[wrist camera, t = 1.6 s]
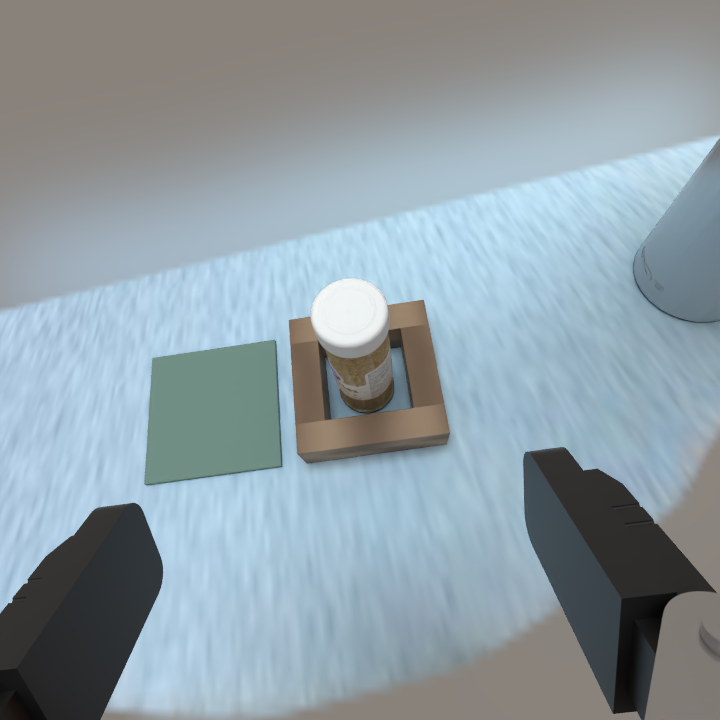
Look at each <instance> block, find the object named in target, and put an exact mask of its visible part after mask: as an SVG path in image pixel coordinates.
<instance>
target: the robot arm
mask: <svg viewBox="0 0 720 720" xmlns="http://www.w3.org/2000/svg"><path fill="white" fill-rule="evenodd" d="M634 275H635V278H636V282H637V284H638V286H639V287H640V289H641V291H642V292H643V294H644V295H645V296H646V297H647V298H648V299H649V301H651V302H652V303H653V304H654V305H656V306H657V307H658V308H659V309H661V310H663V311H665V312H667V313H668V314H670V315H673V316H675V317H678V318H681V319H685V320H690V321H695V322H711V321H718V320H720V139H719V140H718V141H717V143H716V144H715V145H714V147H713V148H712V149H711V151H710V152H709V154H708V155H707V156H706V158H705V159H704V160H703V162H702V163H701V165H700V166H699V167H698V169H697V170H696V171H695V173H694V174H693V176H692V177H691V178H690V180H689V181H688V182H687V184H686V185H685V186H684V188H683V189H682V191H681V192H680V193H679V195H678V196H677V197H676V199H675V200H674V202H673V203H672V204H671V206H670V207H669V208H668V210H667V211H666V213H665V214H664V215H663V217H662V218H661V219H660V221H659V222H658V223H657V225H656V226H655V228H654V229H653V230H652V232H651V233H650V234H649V236H648V237H647V239H646V240H645V241H644V243H643V244H642V245H641V247H640V249H639V250H638V252H637V254H636V257H635V260H634ZM523 467H524V505H525V520H526V526H527V530H528V534H529V538H530V541H531V543H532V546H533V548H534V550H535V552H536V554H537V556H538V558H539V560H540V562H541V565H542V567H543V569H544V571H545V573H546V575H547V577H548V579H549V581H550V583H551V585H552V587H553V590H554V592H555V594H556V596H557V598H558V600H559V602H560V604H561V606H562V608H563V610H564V612H565V615H566V617H567V619H568V621H569V623H570V625H571V627H572V629H573V631H574V633H575V635H576V637H577V640H578V642H579V644H580V646H581V648H582V650H583V652H584V654H585V656H586V658H587V660H588V662H589V664H590V667H591V669H592V671H593V673H594V675H595V677H596V679H597V681H598V683H599V685H600V687H601V690H602V692H603V694H604V696H605V698H606V700H607V702H608V704H609V706H610V708H611V710H612V712H613V714H616V713H625V712H634V711H637V712H638V714H639V716H640V718H641V720H720V594H719V593H717V592H716V591H715V590H714V589H713V588H712V587H711V586H710V585H709V584H708V582H707V581H706V580H705V579H704V578H703V576H702V575H701V574H700V573H699V572H698V571H697V570H696V568H695V567H694V566H693V565H692V564H691V563H690V561H689V560H688V559H687V558H686V557H685V556H684V554H683V553H682V552H681V551H680V550H679V549H678V548H677V547H676V545H675V544H674V543H673V542H672V541H671V539H670V538H669V537H668V536H667V535H666V534H665V532H664V531H663V530H662V529H661V528H660V527H659V526H658V524H654V521H653V519H652V517H651V516H650V515H649V514H648V513H647V512H646V510H645V509H644V508H643V507H640V506H639V502H638V501H637V500H636V499H635V498H634V497H633V495H632V494H631V493H630V492H629V491H628V490H627V488H626V487H625V486H624V485H623V484H622V483H620V482H619V481H617V480H615V479H614V478H612V477H610V476H609V475H607V474H605V473H604V472H602V471H600V470H599V469H592V470H584V471H583V469H582V468H581V467H580V466H579V464H578V463H577V462H576V460H575V459H574V458H573V456H572V455H571V454H570V453H569V451H568V450H567V449H566V448H564V447H560V448H552V449H545V450H537V451H530V452H526V453H525V454H524V459H523ZM162 579H163V565H162V560H161V557H160V554H159V551H158V549H157V546H156V544H155V541H154V539H153V536H152V533H151V531H150V528H149V526H148V523H147V521H146V518H145V515H144V513H143V511H142V509H141V507H140V506H139V505H138V504H136V503H130V504H122V505H115V506H107V507H100V508H96V509H95V510H94V511H93V512H92V513H91V514H90V515H89V516H88V518H87V519H86V520H85V522H84V523H83V524H82V526H81V527H80V528H79V529H78V531H77V532H76V533H75V535H74V536H71V537H69V538H68V539H67V540H66V541H64V542H63V543H62V544H61V545H60V546H58V547H57V548H56V549H55V550H53V551H52V552H51V553H50V554H48V555H47V556H46V557H45V558H44V560H43V561H42V562H41V563H40V565H39V566H38V567H37V568H36V570H35V571H34V572H33V573H32V575H31V576H30V577H29V578H28V583H27V584H24V585H23V586H22V587H21V588H20V590H19V591H18V592H17V593H16V595H15V596H14V597H13V598H12V599H13V601H12V603H8V605H7V606H6V607H5V608H4V610H3V611H2V612H1V613H0V720H100V719H101V717H102V715H103V713H104V711H105V708H106V706H107V704H108V702H109V700H110V698H111V695H112V693H113V691H114V689H115V687H116V685H117V682H118V680H119V678H120V676H121V674H122V672H123V669H124V667H125V665H126V663H127V661H128V659H129V656H130V654H131V652H132V650H133V648H134V646H135V643H136V641H137V639H138V637H139V635H140V633H141V630H142V628H143V626H144V624H145V622H146V620H147V617H148V615H149V613H150V611H151V609H152V607H153V604H154V602H155V600H156V598H157V596H158V594H159V591H160V588H161V585H162Z"/></svg>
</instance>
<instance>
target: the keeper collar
mask: <svg viewBox="0 0 720 720" xmlns="http://www.w3.org/2000/svg"><path fill="white" fill-rule="evenodd" d="M388 311H389V321H390V324H389V330H388V337H389V341H390V348H395V347H402V353H403V359H404V365H405V371H406V377H407V383H408V389H409V395H410V401H411V407H412V408H410V409H403V410H396V411H388V412H381V413H374V414H367V415H360V416H353V417H346V418H339V419H331V415H330V405H329V394H328V383H327V373H326V362H325V358H326V357H328V356H327V353H326V350H325V348H323V347H322V345H321V344H320V343H319V341H318V339H317V337H316V335H315V332H314V329H313V326H312V322H311V317H306V318H299V319H293V320H289V329H290V345H291V360H292V376H293V392H294V408H295V424H296V439H297V454H298V455H299V456H300V457H301V458H302V459H303V460H304V461H305V462H306V463H313V462H320V461H327V460H335V459H342V458H349V457H357V456H364V455H371V454H379V453H386V452H393V451H401V450H408V449H415V448H423V447H430V446H437V445H445V444H447V441H448V437H449V434H450V432H449V427H448V421H447V416H446V411H445V406H444V401H443V396H442V391H441V386H440V380H439V375H438V370H437V365H436V360H435V355H434V350H433V345H432V340H431V334H430V329H429V324H428V319H427V314H426V309H425V304H424V300H419V301H412V302H406V303H399V304H392V305H388Z"/></svg>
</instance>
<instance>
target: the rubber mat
mask: <svg viewBox="0 0 720 720" xmlns="http://www.w3.org/2000/svg"><path fill="white" fill-rule="evenodd" d="M276 467H282V454H281V434H280V414H279V393H278V373H277V353H276V341H275V340H271V341H264V342H258V343H251V344H244V345H237V346H231V347H224V348H217V349H211V350H204V351H197V352H190V353H184V354H177V355H170V356H163V357H157V358H153V359H152V375H151V390H150V406H149V421H148V437H147V453H146V468H145V485H152V484H159V483H166V482H174V481H181V480H188V479H196V478H203V477H210V476H218V475H225V474H232V473H240V472H247V471H254V470H262V469H269V468H276Z"/></svg>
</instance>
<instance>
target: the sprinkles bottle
mask: <svg viewBox="0 0 720 720" xmlns="http://www.w3.org/2000/svg"><path fill="white" fill-rule="evenodd" d="M311 322H312V326H313V329H314V332H315V335H316V337H317V339H318V341H319V343H320V344H321V345H322V347H323V348H325V350H326V353H327V356H328V360H329V363H330V365H331V368H332V370H333V373H334V376H335V379H336V382H337V384H338V386H339V388H340V394H341V397H342V399H343V400H344V402H345V403H346V404H347V405H348V406H349V407H350V408H352V409H354V410H356V411H359V412H365V413H369V412H374V411H377V410H379V409H381V408H383V407H384V406H385V405H386V404H387V403H388V402H389V401H390V399H391V397H392V395H393V392H394V381H393V378H392V362H391V351H390V341H389V337H388V330H389V324H390V321H389V311H388V305H387V301H386V299H385V297H384V295H383V294H382V292H381V291H380V290H379V289H378V288H377V287H376V286H374V285H373V284H371V283H369V282H367V281H365V280H361V279H355V278H349V279H341V280H338V281H335V282H333V283H331V284H329V285H328V286H326V287H325V288H324V289H323V290H322V291H321V292H320V293H319V294H318V295H317V297H316V298H315V300H314V302H313V304H312V308H311Z"/></svg>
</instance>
